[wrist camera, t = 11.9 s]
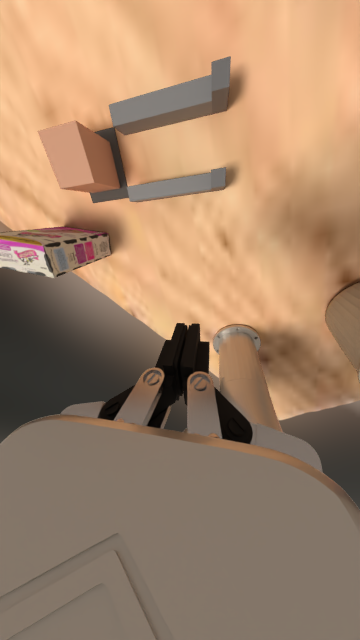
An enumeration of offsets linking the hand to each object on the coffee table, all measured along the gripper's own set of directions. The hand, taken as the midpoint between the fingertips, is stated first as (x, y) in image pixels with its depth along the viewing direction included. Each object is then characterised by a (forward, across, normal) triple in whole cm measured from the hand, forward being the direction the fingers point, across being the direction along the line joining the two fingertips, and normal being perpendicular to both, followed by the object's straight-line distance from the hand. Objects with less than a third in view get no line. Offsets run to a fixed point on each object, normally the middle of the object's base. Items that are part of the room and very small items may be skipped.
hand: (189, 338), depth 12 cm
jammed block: (+27, +19, -16) cm, 37 cm away
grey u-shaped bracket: (+27, +5, -16) cm, 32 cm away
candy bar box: (+27, +27, -5) cm, 39 cm away
